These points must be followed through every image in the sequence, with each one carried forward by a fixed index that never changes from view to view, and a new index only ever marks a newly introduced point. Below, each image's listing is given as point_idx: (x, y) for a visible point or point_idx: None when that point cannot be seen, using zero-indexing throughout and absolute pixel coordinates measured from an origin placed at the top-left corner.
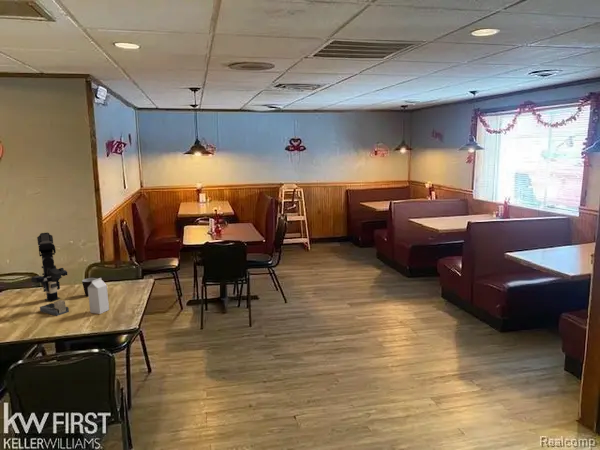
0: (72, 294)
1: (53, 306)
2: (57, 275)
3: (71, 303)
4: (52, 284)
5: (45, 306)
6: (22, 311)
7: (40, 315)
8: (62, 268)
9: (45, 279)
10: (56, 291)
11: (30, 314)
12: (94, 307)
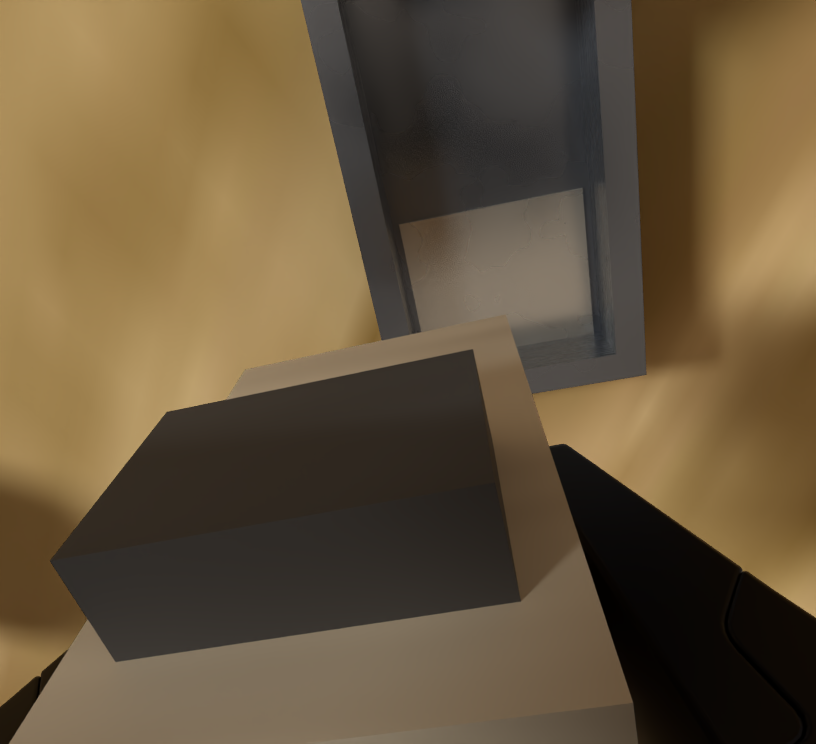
0: (9, 696)
1: (408, 310)
2: None
3: (92, 337)
4: (404, 516)
5: (539, 358)
6: (751, 552)
7: (740, 101)
8: None
9: None
10: (270, 371)
11: (787, 323)
12: None
